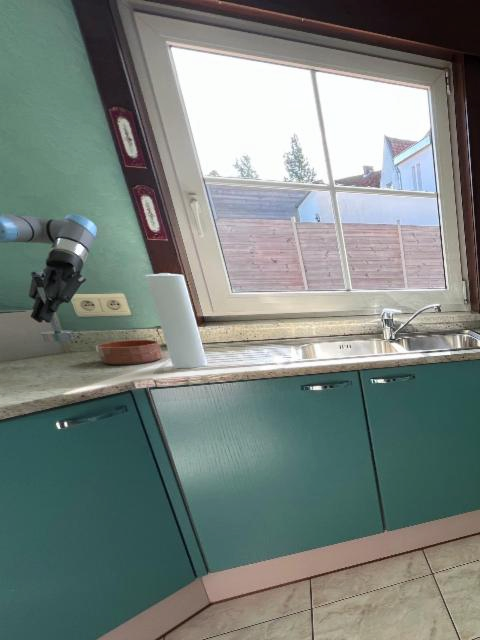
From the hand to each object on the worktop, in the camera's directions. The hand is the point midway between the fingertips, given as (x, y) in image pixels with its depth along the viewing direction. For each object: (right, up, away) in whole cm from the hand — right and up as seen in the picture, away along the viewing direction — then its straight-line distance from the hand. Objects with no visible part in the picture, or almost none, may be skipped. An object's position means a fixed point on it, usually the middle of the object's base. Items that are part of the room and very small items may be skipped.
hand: (40, 319), depth 144 cm
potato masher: (-1, -5, +6) cm, 8 cm away
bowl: (-1, -7, +29) cm, 30 cm away
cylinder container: (+23, -9, +25) cm, 35 cm away
